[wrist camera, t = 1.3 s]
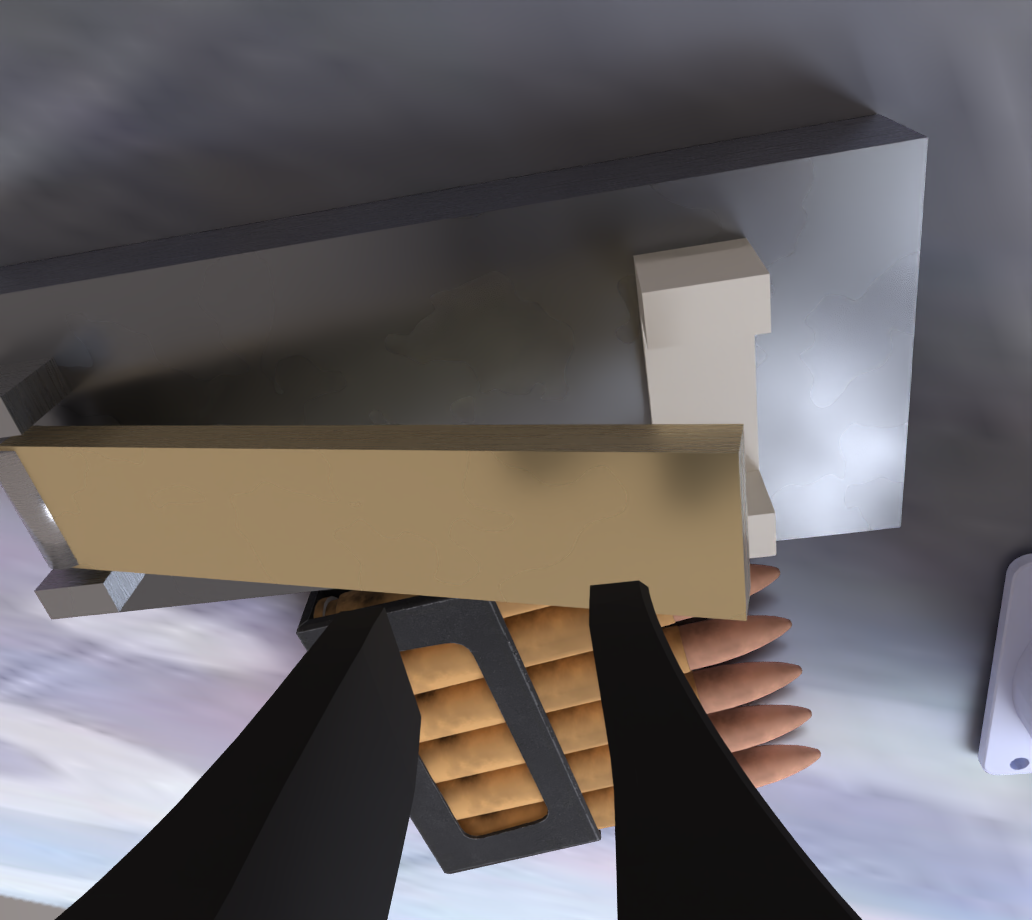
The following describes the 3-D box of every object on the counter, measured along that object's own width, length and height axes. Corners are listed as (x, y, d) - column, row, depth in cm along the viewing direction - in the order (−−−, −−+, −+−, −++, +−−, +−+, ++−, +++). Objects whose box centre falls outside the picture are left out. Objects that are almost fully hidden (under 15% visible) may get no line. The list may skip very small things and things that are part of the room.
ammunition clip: (451, 825, 27) (815, 748, 25) (447, 877, 26) (835, 800, 24) (311, 583, 22) (751, 464, 20) (294, 630, 21) (770, 504, 19)
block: (879, 114, 16) (973, 159, 12) (864, 466, 20) (932, 581, 16) (-9, 269, 18) (-154, 344, 15) (136, 553, 22) (51, 668, 19)
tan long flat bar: (745, 416, 12) (737, 460, 11) (752, 579, 13) (745, 629, 12) (14, 421, 17) (-34, 451, 16) (78, 537, 18) (38, 571, 18)
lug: (745, 237, 15) (769, 273, 13) (755, 497, 17) (776, 555, 16) (633, 255, 15) (641, 293, 13) (660, 508, 18) (670, 567, 16)
